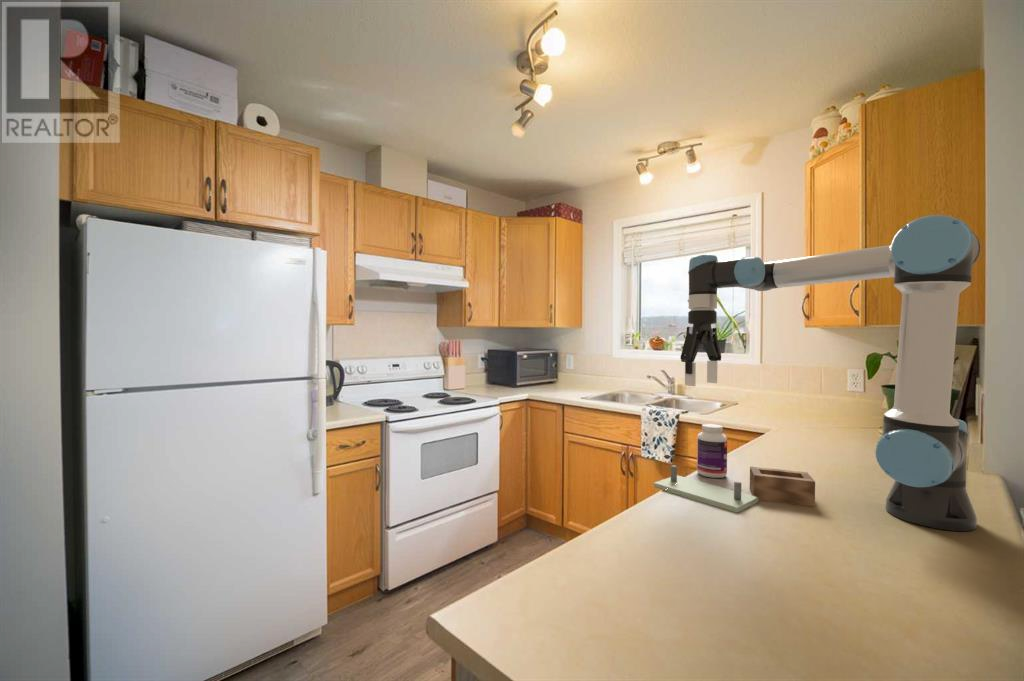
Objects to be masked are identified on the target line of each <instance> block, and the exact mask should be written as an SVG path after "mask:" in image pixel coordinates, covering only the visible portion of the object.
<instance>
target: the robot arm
mask: <svg viewBox="0 0 1024 681" xmlns="http://www.w3.org/2000/svg"><path fill="white" fill-rule="evenodd" d="M980 241H981V240H980V239H979V237H978V236H977V235H976V234H975V233H974V232H973V231H972V228H970V226H969V225H968V224H967V223H966V222H965V221H963V220H962V219H960V218H956V217H953V216H949V215H944V214H934V215H933V214H932V215H926V216H922V217H918V218H916V219H914V220H912V221H910V222H908V223H907V224H905V225H904V226H902V227H901V228H900V229H899V230H898V231H897V233H896V234H895V235H894V237H893V239H892V242H891V244H890V245H889V244H888V245H883V246H874V247H873V246H872V247H867V248H860V249H859V248H858V249H854V250H852V249H851V250H845V251H838V252H832V253H825V254H819V255H818V254H817V255H816V254H815V255H812V256H810V255H809V256H803V257H796V258H795V257H794V258H789V259H788V258H787V259H781V260H775V261H768V262H767V261H766V262H764V261H763V260H762V259H761V257H759V256H750V257H748V256H745V257H744V256H743V257H742V258H732V259H726V260H725V259H724V260H718V256H717V255H715V254H698V255H694V256H691V258H690V259H689V261H688V262H689V263H688V299H687V302H688V309H689V311H688V312H687V313H688V314H687V315H688V316H687V317H688V318H687V320H688V321H687V322H688V324H689V325H692V326H686V334H685V339H684V342H683V347H682V349H681V354H680V361H681V362H682V363H684V386H687V387H696V380H697V379H696V378H697V376H696V374H697V372H696V369H697V367H696V366H697V363H696V362H695V359H696V357H697V355H698V353H699V350H700V347H701V345H703V347H704V349H705V350H704V351H705V353H706V356H707V358H708V360H707V361H706V363H707V364H706V382H707V383H708V384H709V383H710V384H718V361H719V362H721V361H722V352H721V349H720V348H721V347H720V342H719V339H718V338H719V337H718V328H717V327H716V326H715V327H713V326H712V325H715V324H717V319H718V318H717V317H718V316H717V314H718V313H717V311H716V309H717V308H718V289H724V288H727V289H728V288H740V289H741V288H742V289H748V290H752V291H753V290H754V291H757V292H767V291H770V290H771V291H772V290H773V289H780V288H791V287H802V286H812V285H823V284H824V285H825V284H832V283H833V284H834V283H835V284H836V283H845V282H854V281H864V280H875V279H886V278H893V287H894V288H895V289H897V290H898V291H899V292H900V293H901V306H900V307H901V309H900V322H899V332H898V333H899V334H898V336H899V337H898V347H897V360H896V371H895V372H896V373H895V384H894V386H895V388H894V399H893V406H892V408H890V409H889V410H887V411H885V412H884V413H883V421H882V422H883V423H882V434H881V437H879V438H878V439H879V440H878V441H877V442H876V445H875V452H874V453H875V454H874V455H875V458H876V462H877V463H878V465H879V467H880V468H881V470H882V471H883V472H884V473H885V474H886V475H888V476H889V477H890V478H891V479H893V480H894V481H893V484H892V486H891V488H890V490H889V492H888V495H887V496H886V499H885V510H886V512H887V513H889V514H890V515H891V516H894V517H896V518H898V519H900V520H904V521H907V522H909V523H913V524H917V525H918V526H919V525H920V526H922V527H927V528H933V529H938V530H943V531H952V532H970V531H975V530H976V529H977V526H978V525H977V524H978V522H977V521H978V519H977V515H976V512H975V509H974V507H973V504H972V502H971V499H970V496H969V494H968V491H967V462H968V461H967V459H968V456H967V454H968V437H969V435H970V434H969V432H968V424H967V423H966V421H964V420H961V419H958V418H954V417H953V416H952V415H951V413H950V412H951V411H950V410H951V400H952V389H953V388H952V386H953V375H954V364H955V354H956V353H955V352H956V351H955V350H956V340H957V339H956V338H957V325H958V313H959V302H960V294H961V293H962V292H963V291H964V290H966V289H967V288H968V287H970V286H971V284H972V275H973V267H974V265H975V263H976V262H977V261H978V259H979V257H980V254H981V248H982V246H981V243H980Z"/></svg>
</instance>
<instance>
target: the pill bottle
mask: <svg viewBox="0 0 1024 681" xmlns="http://www.w3.org/2000/svg"><path fill="white" fill-rule="evenodd" d="M723 429H724V428H723V426H722V425H719V424H714V423H703V424H701V432H699V433H698V434H697V437H696V438H697V439H696V471H697V473H698V474H699V475H701V476H702V477H706V478H711V479H712V478H713V479H721V478H725V477H726V476H727V474H728V437H727V436H726V434H724V433H723V431H724V430H723Z"/></svg>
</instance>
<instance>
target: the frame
mask: <svg viewBox="0 0 1024 681" xmlns="http://www.w3.org/2000/svg"><path fill="white" fill-rule="evenodd" d="M749 491H750V493H751V494H750V495H752V496H756V497H758V501H767V502H774V503H783V504H791V505H799V506H804V507H805V506H806V507H807V506H808V507H816V481H815V480H814V478H813V476H811V475H810V474H809V473H808V472H807V471H798V470H797V471H796V470H787V469H777V468H769V467H758V466H749Z"/></svg>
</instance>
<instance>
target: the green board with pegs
mask: <svg viewBox="0 0 1024 681" xmlns="http://www.w3.org/2000/svg"><path fill="white" fill-rule="evenodd" d="M680 481H681V482H680ZM678 482H680V483H678ZM676 483H677V484H676ZM675 484H676V485H675ZM653 488H655V489H659V490H662V491H665V492H668V493H672V494H675V495H678V496H681V497H685V498H688V499H691V500H694V501H698V502H701V503H704V504H707V505H711V506H714V507H717V508H721V509H724V510H726V511H729V512H734V513H737V514H738V513H740V512H742V511H743V510H744V511H745V509H747V508H749V507H751V506H754V505H755V504H757V503H759V500H758V497H756V496H752V494H747V493H745V492H744V493H743V492H742V482H741V481H734V482H733V489H729V488H726V487H723V486H722V487H721V486H718V485H715V484H711V483H708V482H704V481H700V480H696V479H693V478H688V477H685V476H682V475H679V474H678V466H677V465H670V476H669V477H667V478H663V479H660V480H657V481H654V482H653ZM667 488H668V489H667ZM665 489H667V490H665Z"/></svg>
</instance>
